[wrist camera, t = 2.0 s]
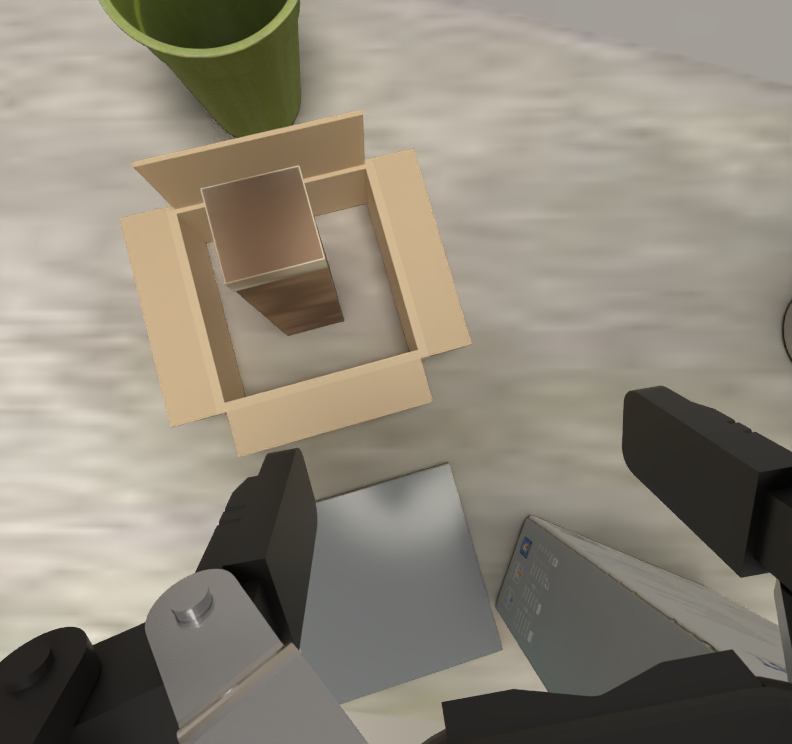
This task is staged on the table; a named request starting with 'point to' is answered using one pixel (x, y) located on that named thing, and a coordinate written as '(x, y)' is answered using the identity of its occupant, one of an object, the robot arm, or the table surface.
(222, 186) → the walnut box
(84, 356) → the table surface
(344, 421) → the carton
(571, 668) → the hard drive box
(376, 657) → the coaster
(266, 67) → the plant pot
